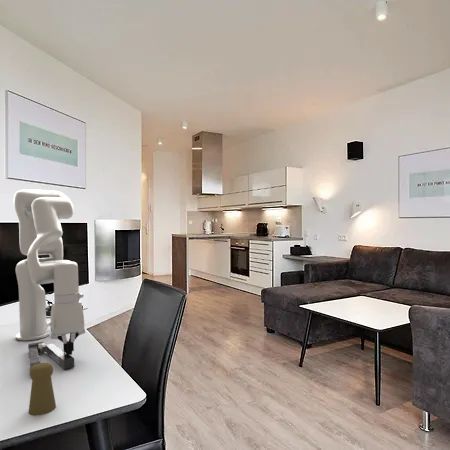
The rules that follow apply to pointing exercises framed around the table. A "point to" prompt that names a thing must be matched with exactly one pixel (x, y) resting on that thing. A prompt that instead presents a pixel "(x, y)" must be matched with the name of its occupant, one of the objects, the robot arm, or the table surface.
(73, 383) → the table surface
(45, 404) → the cork
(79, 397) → the table surface
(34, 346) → the tong base
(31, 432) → the table surface
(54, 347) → the tong arm
